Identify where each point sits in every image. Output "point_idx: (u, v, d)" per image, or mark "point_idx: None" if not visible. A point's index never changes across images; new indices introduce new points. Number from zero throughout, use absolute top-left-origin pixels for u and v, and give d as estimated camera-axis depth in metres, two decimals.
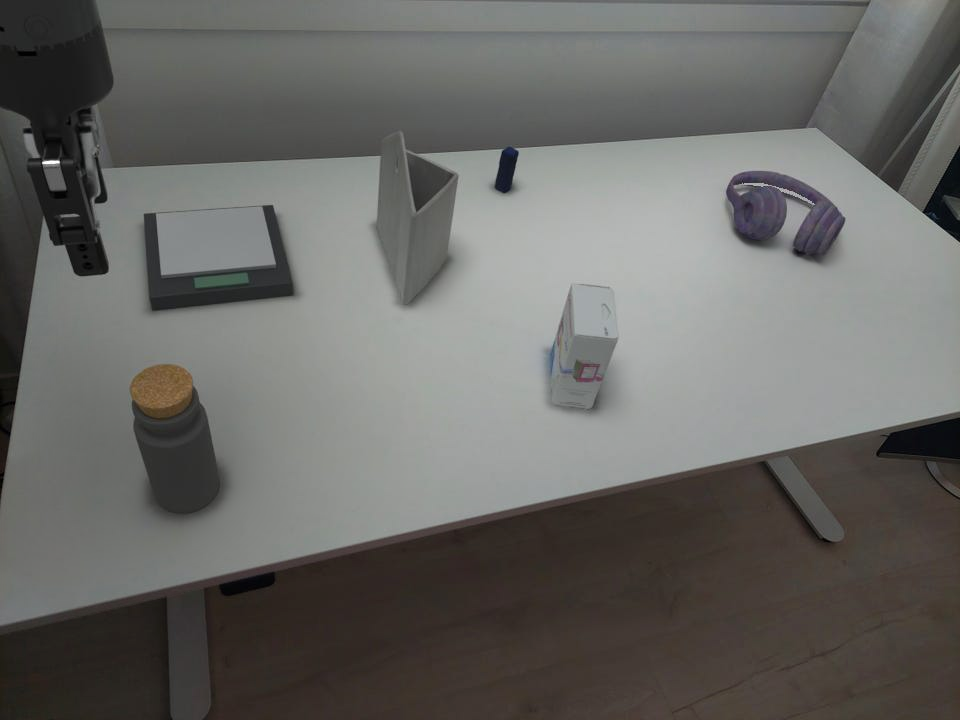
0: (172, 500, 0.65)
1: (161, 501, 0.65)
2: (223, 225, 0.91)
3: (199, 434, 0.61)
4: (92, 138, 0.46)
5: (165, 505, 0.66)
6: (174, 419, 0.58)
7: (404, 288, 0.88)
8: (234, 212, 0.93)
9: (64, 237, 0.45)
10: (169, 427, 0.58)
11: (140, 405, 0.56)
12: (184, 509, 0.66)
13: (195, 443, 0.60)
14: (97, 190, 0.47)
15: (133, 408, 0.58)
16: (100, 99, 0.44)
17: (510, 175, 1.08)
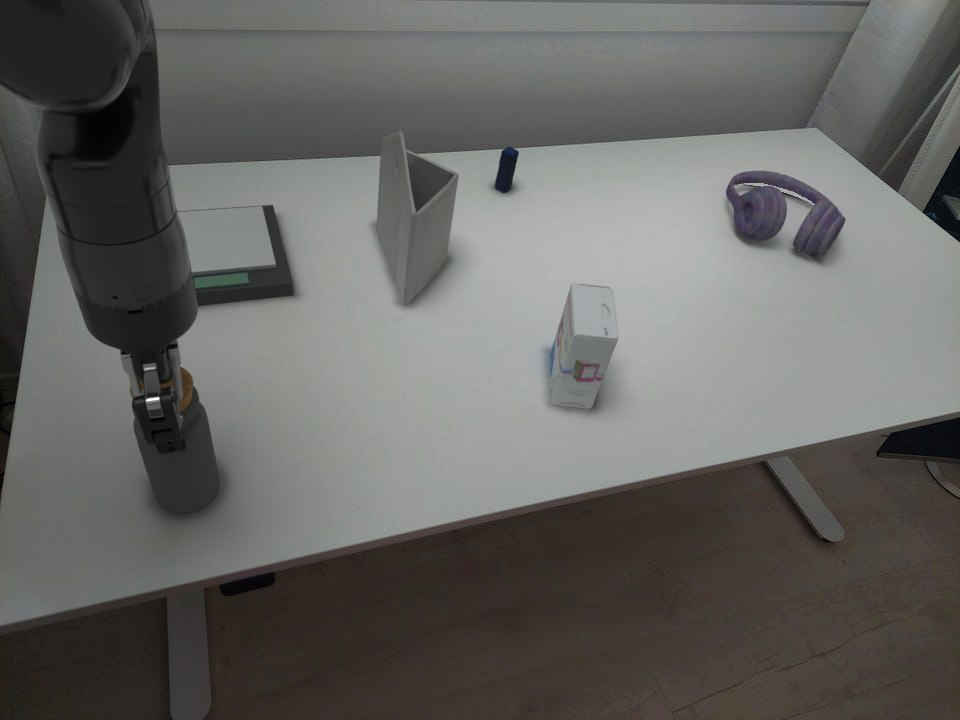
0: (172, 500, 0.64)
1: (161, 501, 0.65)
2: (223, 225, 0.91)
3: (199, 434, 0.61)
4: (179, 356, 0.53)
5: (165, 505, 0.66)
6: None
7: (404, 288, 0.88)
8: (234, 212, 0.93)
9: (157, 438, 0.53)
10: None
11: None
12: (184, 509, 0.66)
13: (195, 442, 0.60)
14: (182, 395, 0.54)
15: None
16: (188, 328, 0.51)
17: (510, 175, 1.08)
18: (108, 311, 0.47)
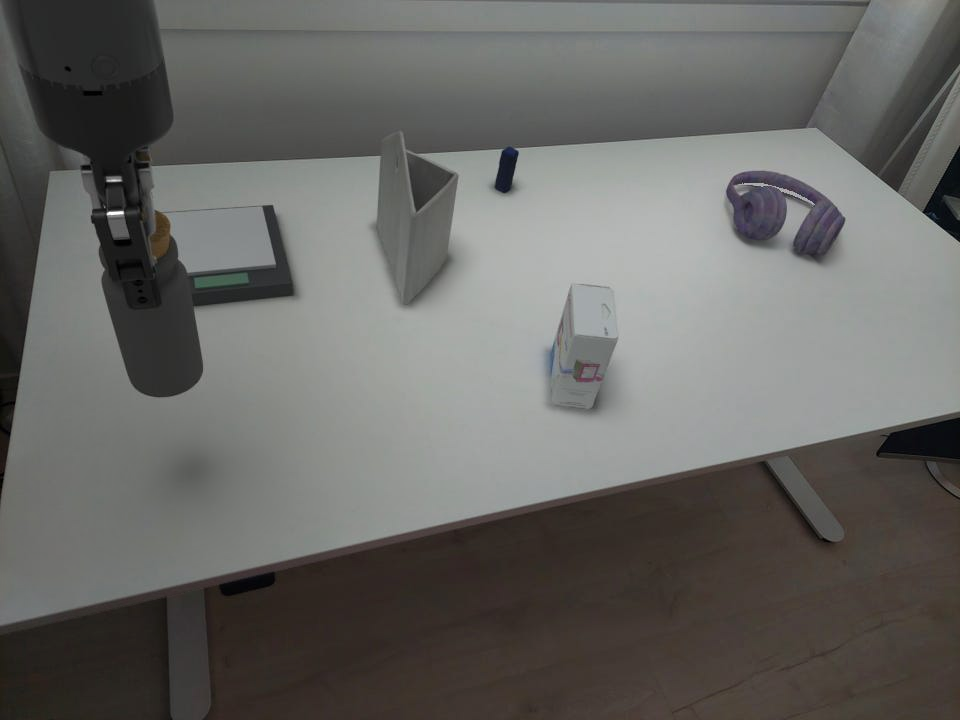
0: (147, 378, 0.56)
1: (135, 381, 0.57)
2: (223, 225, 0.91)
3: (178, 293, 0.52)
4: (150, 177, 0.45)
5: (140, 386, 0.57)
6: None
7: (404, 288, 0.88)
8: (234, 212, 0.93)
9: (123, 274, 0.45)
10: None
11: None
12: (162, 391, 0.57)
13: (172, 302, 0.52)
14: (155, 228, 0.46)
15: (100, 253, 0.49)
16: (161, 136, 0.43)
17: (510, 175, 1.08)
18: (59, 90, 0.38)
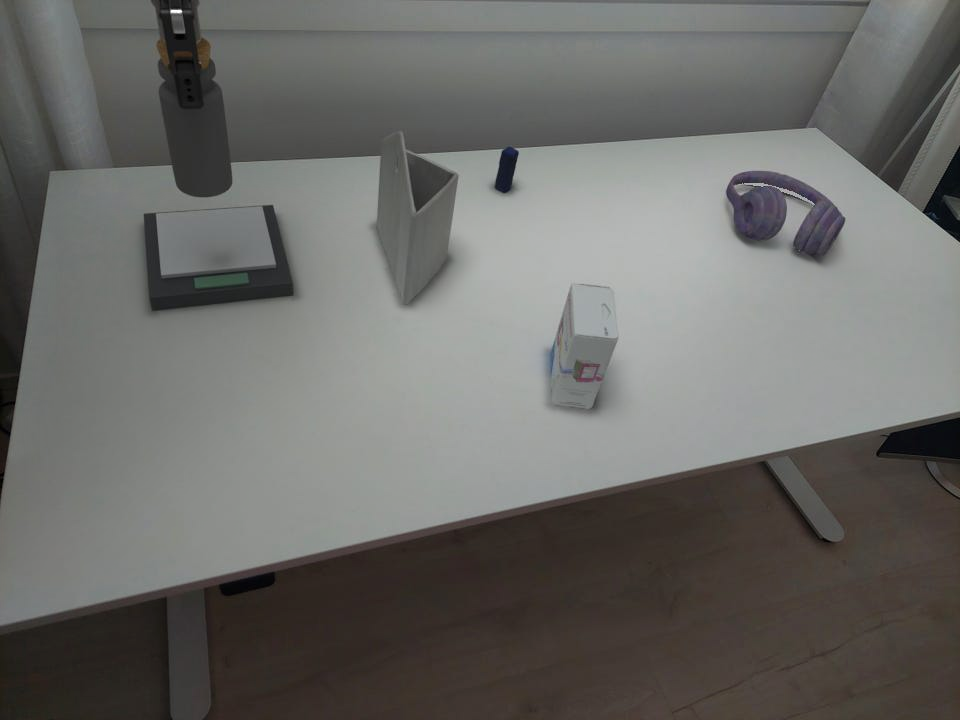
0: (191, 178, 0.74)
1: (181, 182, 0.74)
2: (223, 225, 0.91)
3: (215, 102, 0.70)
4: None
5: (185, 186, 0.75)
6: None
7: (404, 288, 0.88)
8: (234, 212, 0.93)
9: (179, 66, 0.62)
10: None
11: (165, 54, 0.65)
12: (202, 191, 0.75)
13: (211, 109, 0.69)
14: (200, 37, 0.63)
15: (159, 65, 0.67)
16: None
17: (510, 175, 1.08)
18: None
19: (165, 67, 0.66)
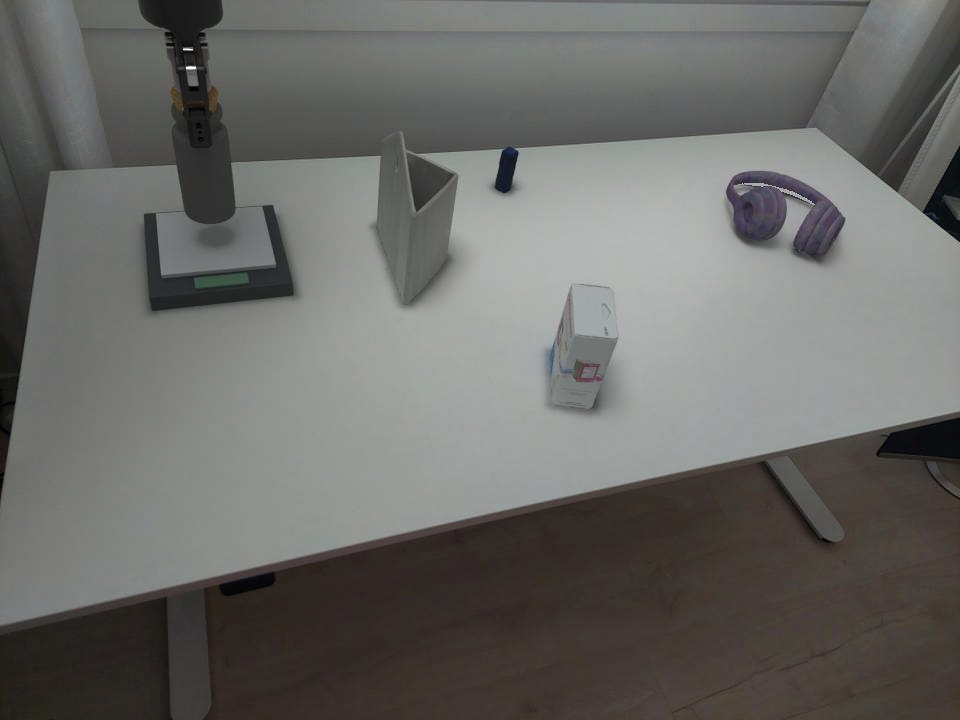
0: (199, 207, 0.82)
1: (190, 211, 0.83)
2: (223, 225, 0.91)
3: (222, 141, 0.78)
4: (208, 52, 0.71)
5: (193, 214, 0.83)
6: None
7: (404, 288, 0.88)
8: None
9: (192, 113, 0.71)
10: None
11: (178, 101, 0.74)
12: (208, 218, 0.83)
13: (218, 147, 0.78)
14: (210, 87, 0.72)
15: (172, 110, 0.75)
16: (216, 23, 0.69)
17: (510, 175, 1.08)
18: None
19: (178, 111, 0.75)
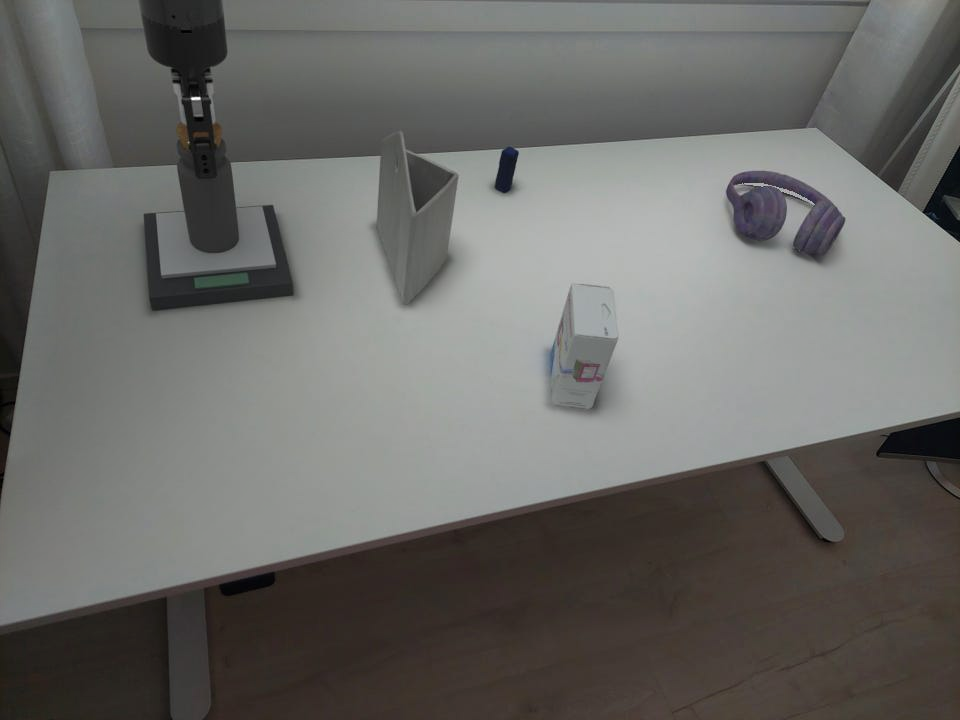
0: (204, 237, 0.85)
1: (195, 240, 0.86)
2: None
3: (225, 175, 0.81)
4: (213, 86, 0.74)
5: (198, 244, 0.86)
6: None
7: (404, 288, 0.88)
8: None
9: (197, 147, 0.72)
10: None
11: (184, 138, 0.77)
12: (213, 248, 0.86)
13: (222, 181, 0.81)
14: (215, 120, 0.74)
15: (178, 146, 0.78)
16: (221, 61, 0.72)
17: (510, 175, 1.08)
18: (167, 30, 0.67)
19: (183, 148, 0.78)
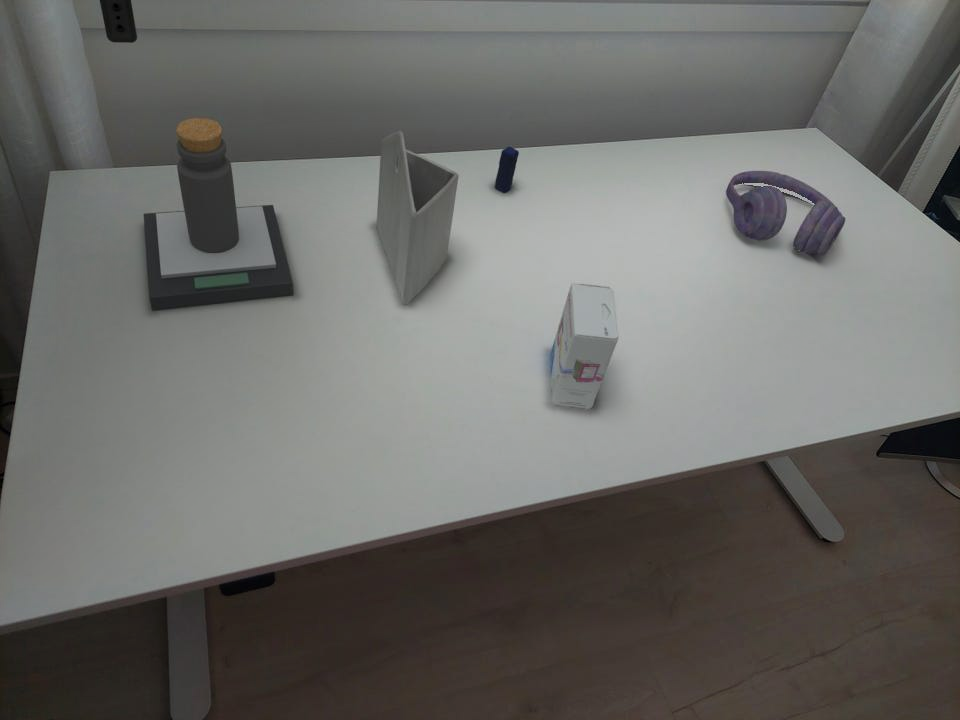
0: (204, 237, 0.85)
1: (195, 240, 0.86)
2: None
3: (225, 175, 0.81)
4: None
5: (198, 244, 0.86)
6: (208, 154, 0.78)
7: (404, 288, 0.88)
8: None
9: None
10: (204, 160, 0.78)
11: (184, 139, 0.77)
12: (213, 248, 0.86)
13: (222, 181, 0.81)
14: None
15: (178, 146, 0.78)
16: None
17: (510, 175, 1.08)
18: None
19: (183, 148, 0.78)
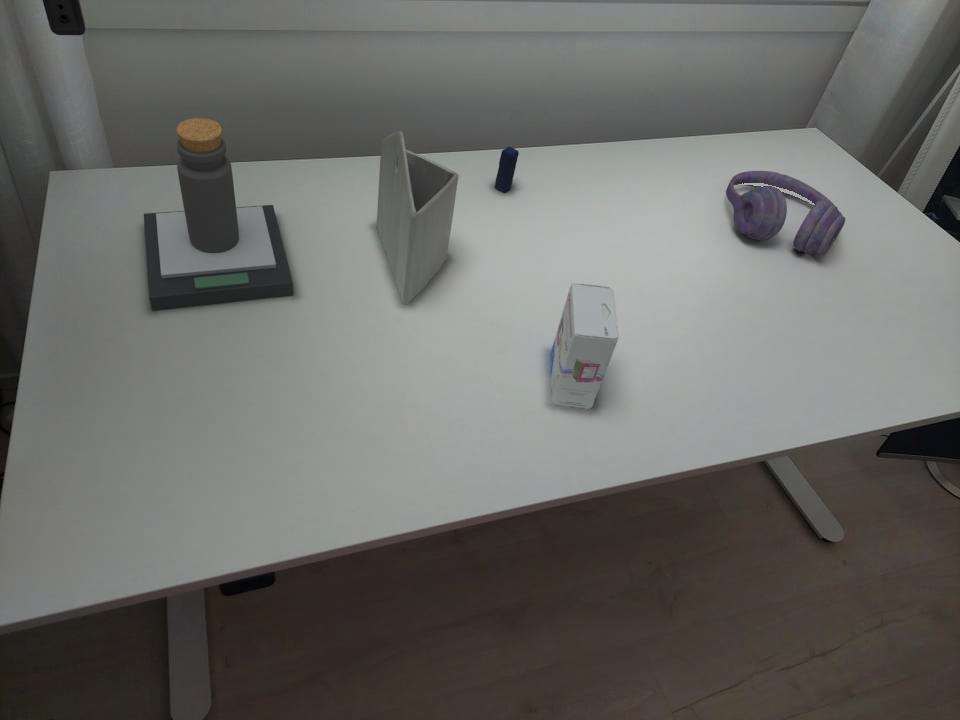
0: (204, 237, 0.85)
1: (195, 240, 0.86)
2: None
3: (225, 175, 0.81)
4: None
5: (198, 244, 0.86)
6: (208, 154, 0.78)
7: (404, 288, 0.88)
8: None
9: None
10: (204, 160, 0.78)
11: (184, 139, 0.77)
12: (213, 248, 0.86)
13: (222, 181, 0.81)
14: None
15: (178, 146, 0.78)
16: None
17: (510, 175, 1.08)
18: None
19: (183, 148, 0.78)
